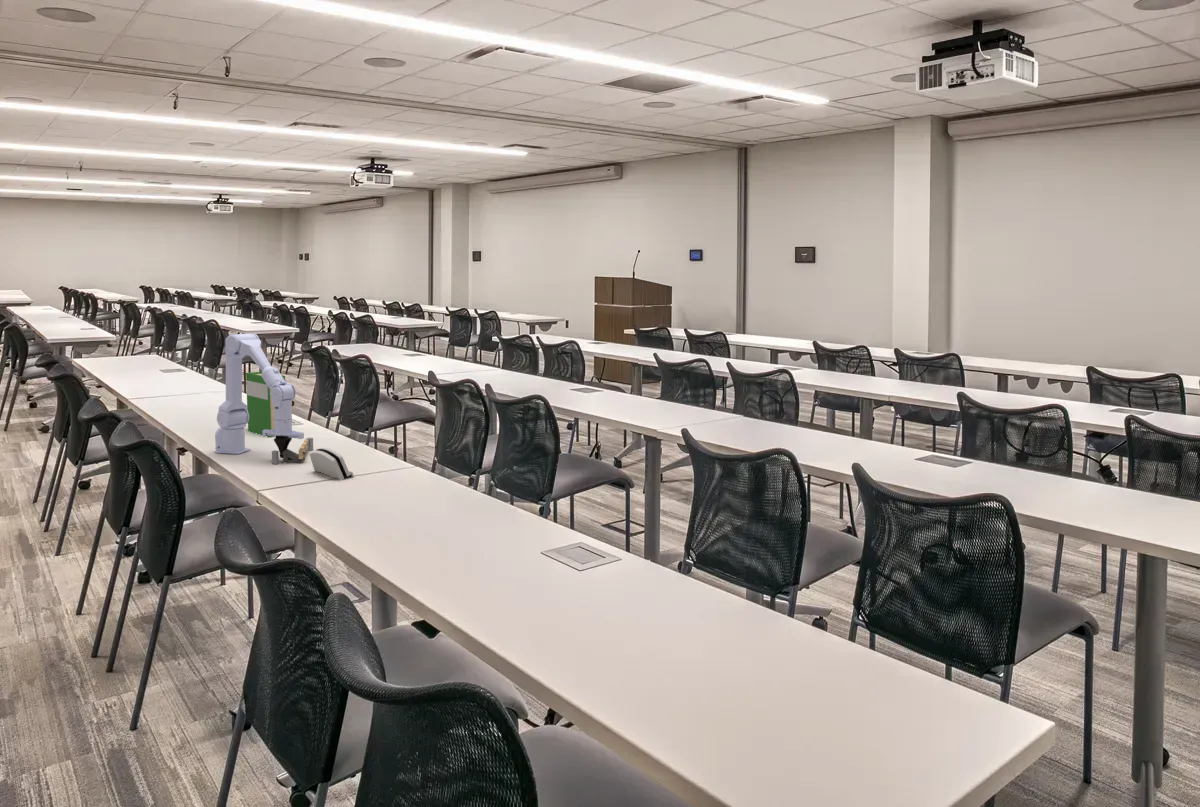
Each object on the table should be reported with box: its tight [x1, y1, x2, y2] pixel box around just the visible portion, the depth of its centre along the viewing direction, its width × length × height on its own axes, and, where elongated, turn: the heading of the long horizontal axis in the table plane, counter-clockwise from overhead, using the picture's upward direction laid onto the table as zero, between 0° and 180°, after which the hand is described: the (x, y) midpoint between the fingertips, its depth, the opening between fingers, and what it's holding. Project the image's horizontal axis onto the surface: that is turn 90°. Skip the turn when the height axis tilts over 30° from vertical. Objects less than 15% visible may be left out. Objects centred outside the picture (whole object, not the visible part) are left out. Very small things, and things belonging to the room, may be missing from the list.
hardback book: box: [245, 371, 286, 438], centre depth 344 cm, size 18×7×24 cm, turn 48°
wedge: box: [282, 448, 306, 464], centre depth 298 cm, size 6×5×4 cm
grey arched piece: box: [309, 447, 355, 480], centre depth 280 cm, size 17×5×10 cm, turn 48°
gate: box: [298, 438, 308, 459], centre depth 305 cm, size 21×2×3 cm, turn 13°
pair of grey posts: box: [271, 437, 314, 465], centre depth 305 cm, size 2×25×4 cm, turn 170°
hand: (283, 457), depth 298 cm, fingers closed, pressing on wedge
